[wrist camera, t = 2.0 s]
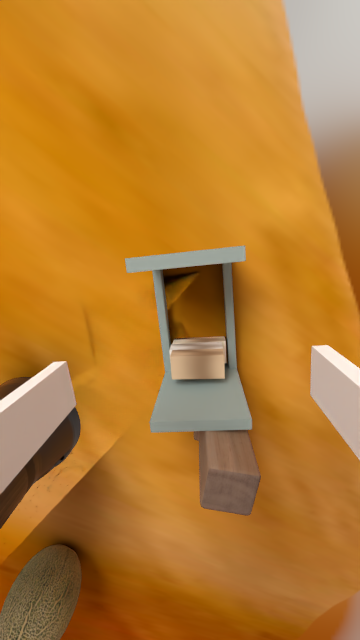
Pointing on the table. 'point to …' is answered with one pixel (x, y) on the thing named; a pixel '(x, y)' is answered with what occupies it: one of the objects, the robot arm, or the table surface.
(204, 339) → the offcut low
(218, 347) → the offcut mid
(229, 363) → the rack
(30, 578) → the fruit
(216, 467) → the wooden block
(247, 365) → the table surface
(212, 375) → the offcut top
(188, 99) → the table surface
